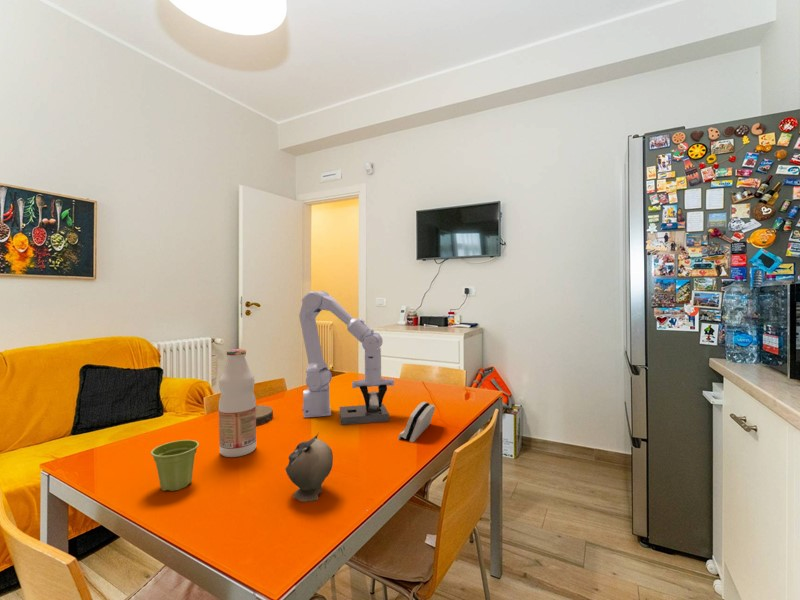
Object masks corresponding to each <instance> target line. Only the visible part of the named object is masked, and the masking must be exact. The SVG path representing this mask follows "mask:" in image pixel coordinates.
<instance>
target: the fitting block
mask: <svg viewBox="0 0 800 600" xmlns="http://www.w3.org/2000/svg"><path fill="white" fill-rule="evenodd" d="M338 411H339V419H340V424H341V426H346V425H348V426H349V425H360V424H370V423H371V424H372V423H374V424H375V423H383V422H385V423H386V422H390V413H389V411H388V409H387V407H386V406H385V404H384V403H382V406H381V407H379V411H377V412H368V408H366V405H365V404H361V405H359V404H358V405H349V406H339V410H338Z"/></svg>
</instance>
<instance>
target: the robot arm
mask: <svg viewBox="0 0 800 600" xmlns="http://www.w3.org/2000/svg"><path fill="white" fill-rule="evenodd" d="M301 303H302V304H301V307H300V311H299V322H300V328H301V333H302V336H303V343H304V348H305V352H306V357H307V363H308V365H307V368H306V371H305V373H306V378H305V385H306V387H307V389H304V390H303V392H302V394H303V395H302V397H303V398H302V400H303V402H302V403H303V404H302V411H303V418H316V417H329V416H332V411H331V409H332V408H331V403H330V402H331V401H330V383H331V381H332V379H333V375H332V372H331V370H330V369H329V367H328V364H327V363H326V361H324V357H323V351H322V347H321V342H320V335H319V332H318V327H317V320H316V318H317V316H318V315H319V313H321V312H322V311H327V312H328V311H329V312H331V313H332V314H333V315H334V316H336V317H337V318H338V319H339V320H340V321H341V322H343V323H344V324H345V325H346V327H347V331H348V332H349V333H350V334H351V335H352V336H353V337H354V338H356V340H357V341H358V342H359V343H361V346H362V349H364V379H361V380H354V381H353V380H352V382H351V388H352V389H356V388H359V390H360V392H361V393H362V397H363V399H364V405H366V408H368V392H369V390H368V388H369V387H371V388H372V387H377V388H378V389H377V390H378V392H379V407H381V406H382V404H383V401H384V397H385V394H386V392H387V390H388V387H387V386H391V387H392V386H393V387H394V386H395V379H394V378H382V350H381V349H382V348H381V347H382V346H383V337H382V336H381V335H380V333H378V332H375V330H374V329H373V328H372V329H371V328H370V327H369V326H368V325H367V324H365V320H363V319H360V318H359V317H358V318H354V317H353V316H352V315H351V314H350V313H349V311H347V310H346V309H345V308H344V307H343V306H342V305H341V304H340V303H339V302H338V301H337V300H336V299H335V298H334V296H332V295H330V294H329V293H328V292H327V291H325V290H320V291H319V290H318V291H315V290H310V291H308V292H307V293H306V294H305V295H304V296H303V297H302V299H301Z"/></svg>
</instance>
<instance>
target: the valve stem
mask: <svg viewBox="0 0 800 600" xmlns="http://www.w3.org/2000/svg"><path fill="white" fill-rule="evenodd" d="M377 411H379V391H368V412H377Z"/></svg>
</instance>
